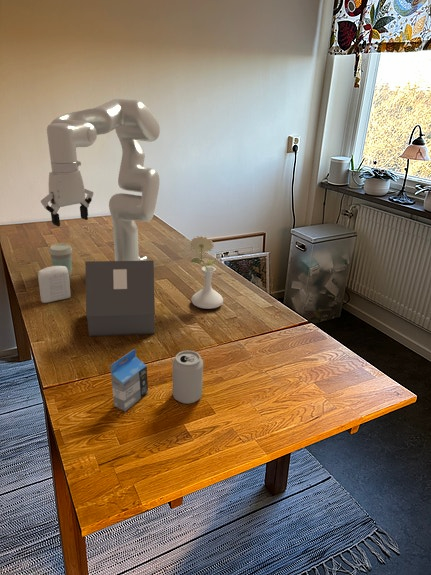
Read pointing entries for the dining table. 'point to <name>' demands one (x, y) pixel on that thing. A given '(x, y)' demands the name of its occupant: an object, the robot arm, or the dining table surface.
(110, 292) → the mailer lid
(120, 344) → the dining table surface
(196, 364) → the can
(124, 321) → the box
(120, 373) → the label tape box
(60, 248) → the coffee cup
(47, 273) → the photo printer
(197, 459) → the dining table surface
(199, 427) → the dining table surface
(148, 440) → the dining table surface
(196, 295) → the flower in vase
